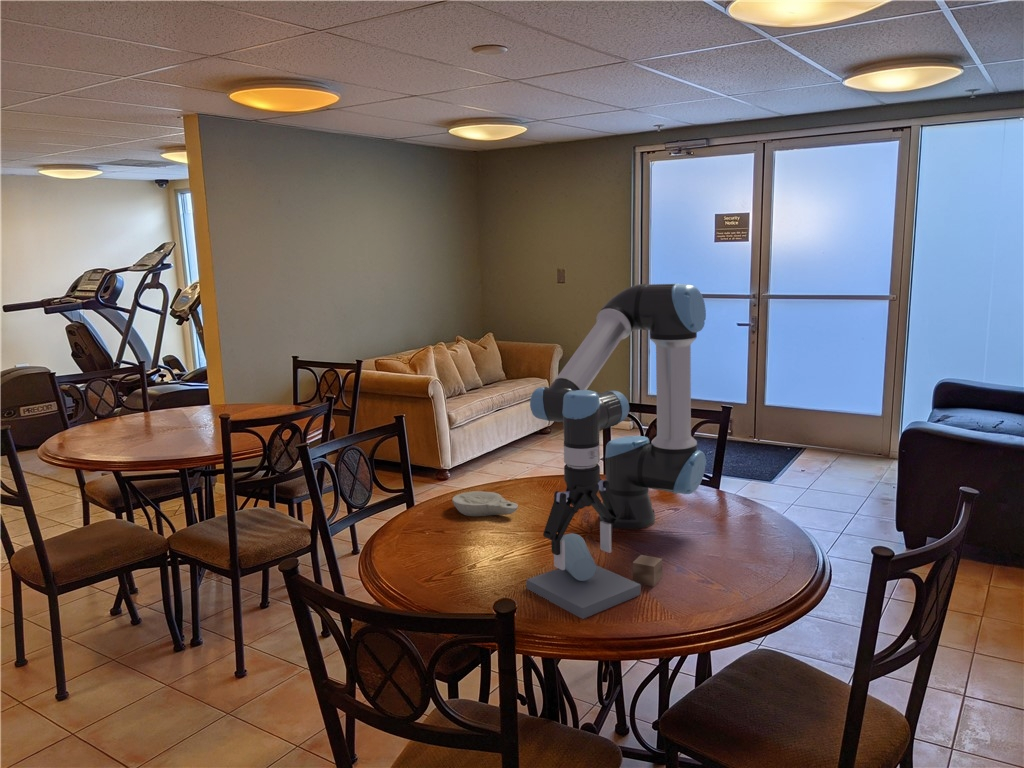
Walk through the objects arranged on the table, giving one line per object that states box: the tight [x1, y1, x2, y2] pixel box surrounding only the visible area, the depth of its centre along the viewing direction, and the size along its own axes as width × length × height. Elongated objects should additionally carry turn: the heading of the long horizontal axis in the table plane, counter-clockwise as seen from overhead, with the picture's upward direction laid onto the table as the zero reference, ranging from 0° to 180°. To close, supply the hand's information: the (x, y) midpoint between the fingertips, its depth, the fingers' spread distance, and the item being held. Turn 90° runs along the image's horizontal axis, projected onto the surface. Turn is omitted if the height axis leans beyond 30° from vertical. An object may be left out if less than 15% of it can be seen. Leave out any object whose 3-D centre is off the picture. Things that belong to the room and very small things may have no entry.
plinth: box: [525, 564, 642, 620], centre depth 160 cm, size 18×17×2 cm
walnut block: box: [632, 554, 663, 588], centre depth 165 cm, size 5×5×5 cm
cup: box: [562, 532, 597, 581], centre depth 163 cm, size 8×8×10 cm
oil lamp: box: [451, 490, 519, 517], centre depth 211 cm, size 21×14×5 cm
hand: (583, 559), depth 159 cm, fingers open, 13 cm apart
